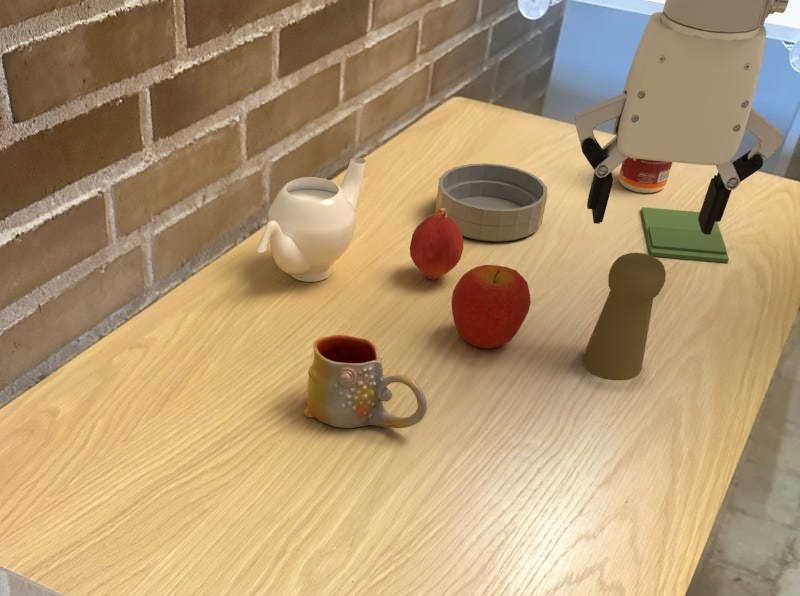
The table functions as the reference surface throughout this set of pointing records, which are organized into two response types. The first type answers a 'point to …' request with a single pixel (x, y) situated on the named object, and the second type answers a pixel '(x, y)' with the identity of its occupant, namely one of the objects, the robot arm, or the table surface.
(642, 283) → the brown tapered knob piece
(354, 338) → the mug
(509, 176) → the pan
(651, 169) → the pill bottle
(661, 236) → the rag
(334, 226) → the teapot
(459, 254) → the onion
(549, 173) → the table surface
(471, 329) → the apple
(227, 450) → the table surface
